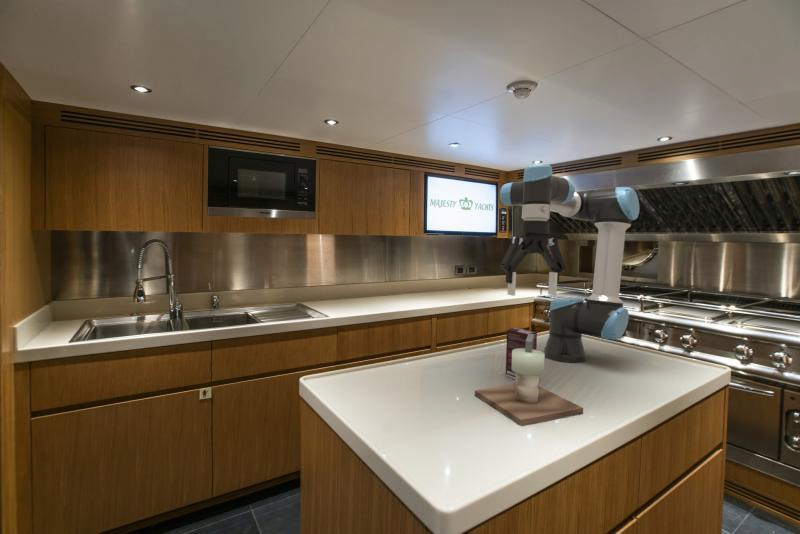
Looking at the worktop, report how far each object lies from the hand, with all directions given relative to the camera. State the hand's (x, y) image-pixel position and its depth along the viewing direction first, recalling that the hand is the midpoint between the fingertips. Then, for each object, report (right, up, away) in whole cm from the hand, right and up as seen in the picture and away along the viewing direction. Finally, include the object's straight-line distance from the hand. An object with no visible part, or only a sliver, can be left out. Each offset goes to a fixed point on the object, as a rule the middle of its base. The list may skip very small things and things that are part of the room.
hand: (532, 294), depth 113 cm
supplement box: (+1, -28, +15) cm, 32 cm away
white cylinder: (-2, -20, -3) cm, 20 cm away
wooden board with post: (-4, -29, -5) cm, 30 cm away
